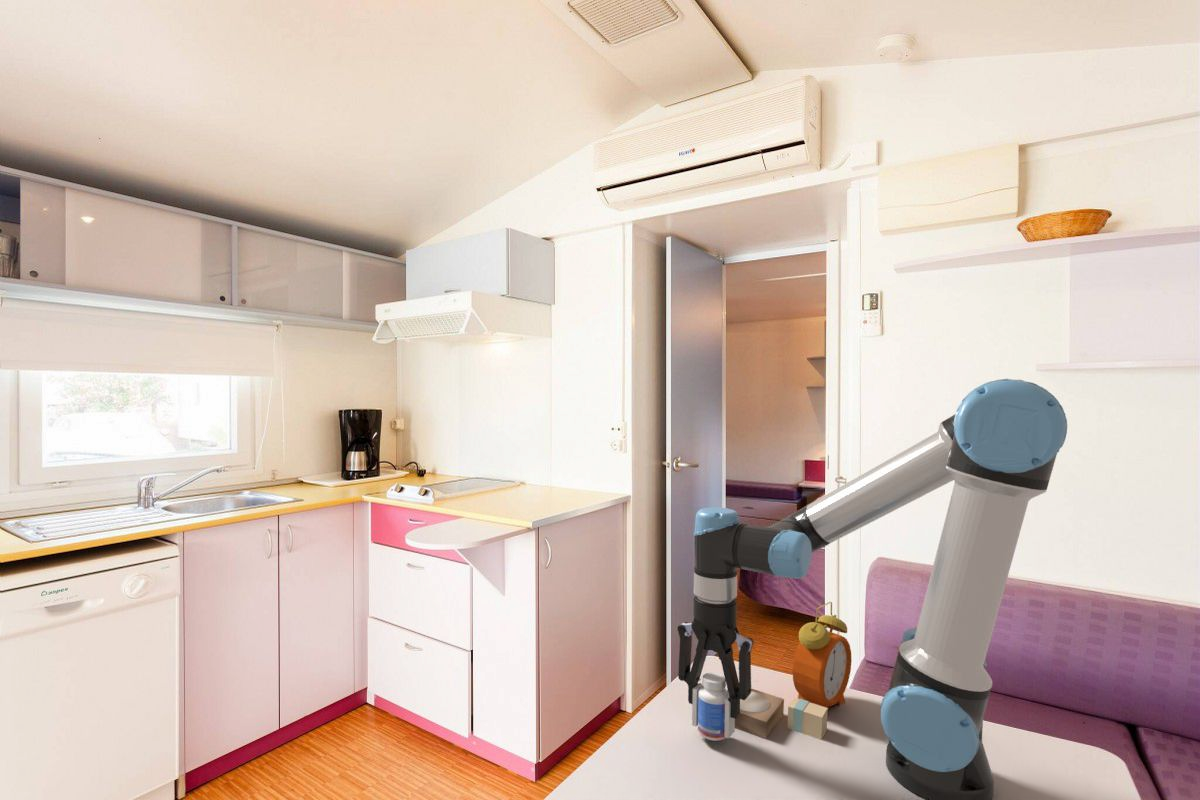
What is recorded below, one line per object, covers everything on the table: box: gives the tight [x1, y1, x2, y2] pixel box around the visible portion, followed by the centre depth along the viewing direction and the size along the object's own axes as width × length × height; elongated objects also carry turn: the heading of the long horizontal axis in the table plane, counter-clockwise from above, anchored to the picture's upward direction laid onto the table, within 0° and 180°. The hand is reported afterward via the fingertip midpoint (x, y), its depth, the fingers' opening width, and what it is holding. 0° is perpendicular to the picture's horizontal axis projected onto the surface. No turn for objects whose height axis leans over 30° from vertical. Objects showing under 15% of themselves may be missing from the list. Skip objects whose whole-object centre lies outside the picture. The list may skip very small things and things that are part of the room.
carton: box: [787, 697, 829, 740], centre depth 109 cm, size 6×4×4 cm
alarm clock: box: [792, 601, 852, 709], centre depth 117 cm, size 13×6×20 cm, turn 133°
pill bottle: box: [697, 672, 729, 742], centre depth 104 cm, size 6×5×10 cm
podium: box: [726, 687, 785, 739], centre depth 112 cm, size 10×10×3 cm
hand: (713, 728), depth 104 cm, fingers closed on pill bottle, 5 cm apart
